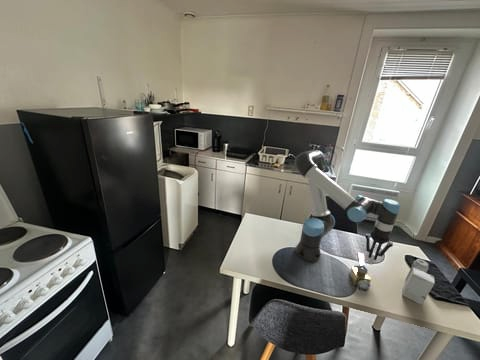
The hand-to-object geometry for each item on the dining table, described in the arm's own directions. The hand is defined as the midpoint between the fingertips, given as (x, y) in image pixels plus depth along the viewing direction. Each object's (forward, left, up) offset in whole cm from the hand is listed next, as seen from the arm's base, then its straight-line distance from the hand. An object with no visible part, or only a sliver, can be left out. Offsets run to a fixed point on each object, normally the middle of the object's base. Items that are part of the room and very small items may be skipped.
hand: (370, 262), depth 115 cm
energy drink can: (+22, -4, -7) cm, 23 cm away
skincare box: (+17, -13, -7) cm, 22 cm away
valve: (-7, -8, -7) cm, 13 cm away
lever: (-6, -2, 0) cm, 6 cm away
